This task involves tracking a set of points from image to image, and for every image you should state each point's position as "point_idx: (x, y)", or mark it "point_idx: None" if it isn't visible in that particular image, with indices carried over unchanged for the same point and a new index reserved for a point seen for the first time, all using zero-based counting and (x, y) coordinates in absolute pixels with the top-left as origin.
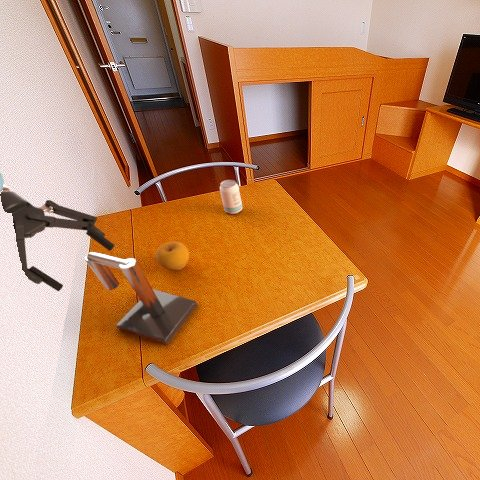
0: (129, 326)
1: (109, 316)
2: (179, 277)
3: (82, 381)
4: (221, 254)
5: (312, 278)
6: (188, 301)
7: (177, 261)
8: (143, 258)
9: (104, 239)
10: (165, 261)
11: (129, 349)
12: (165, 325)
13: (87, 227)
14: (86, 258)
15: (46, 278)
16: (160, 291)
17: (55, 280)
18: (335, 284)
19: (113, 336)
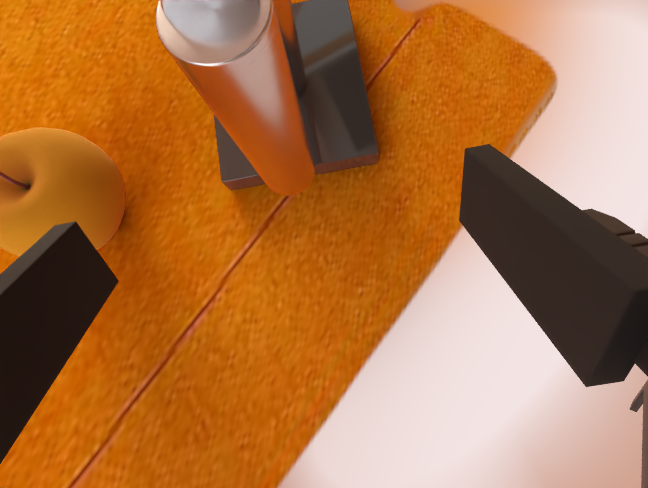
0: (361, 112)
1: (359, 235)
2: (144, 172)
3: (523, 108)
4: (3, 128)
5: None
6: None
7: (75, 134)
8: (116, 374)
9: (14, 271)
10: (90, 161)
11: (403, 85)
12: (309, 27)
13: None
14: (251, 21)
15: (544, 185)
16: (218, 144)
17: (492, 168)
18: None
19: (399, 158)
